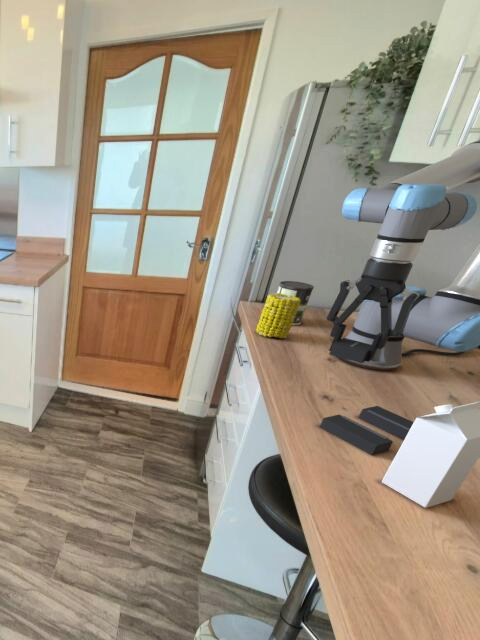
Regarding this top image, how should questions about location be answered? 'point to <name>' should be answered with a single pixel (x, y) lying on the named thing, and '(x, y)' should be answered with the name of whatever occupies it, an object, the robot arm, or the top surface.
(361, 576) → the top surface
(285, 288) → the coffee can
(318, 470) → the top surface
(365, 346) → the loose pad
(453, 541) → the top surface
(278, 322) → the food
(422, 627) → the top surface
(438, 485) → the milk carton
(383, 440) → the pad row
